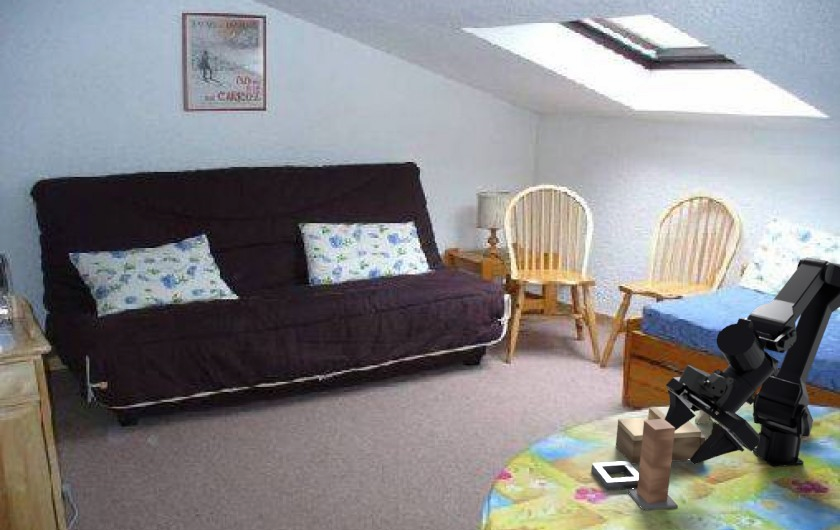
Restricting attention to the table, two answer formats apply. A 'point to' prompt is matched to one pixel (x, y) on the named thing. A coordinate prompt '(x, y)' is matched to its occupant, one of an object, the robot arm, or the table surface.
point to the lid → (636, 424)
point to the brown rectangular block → (655, 460)
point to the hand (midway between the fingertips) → (675, 449)
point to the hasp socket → (615, 467)
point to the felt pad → (645, 505)
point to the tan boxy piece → (681, 451)
